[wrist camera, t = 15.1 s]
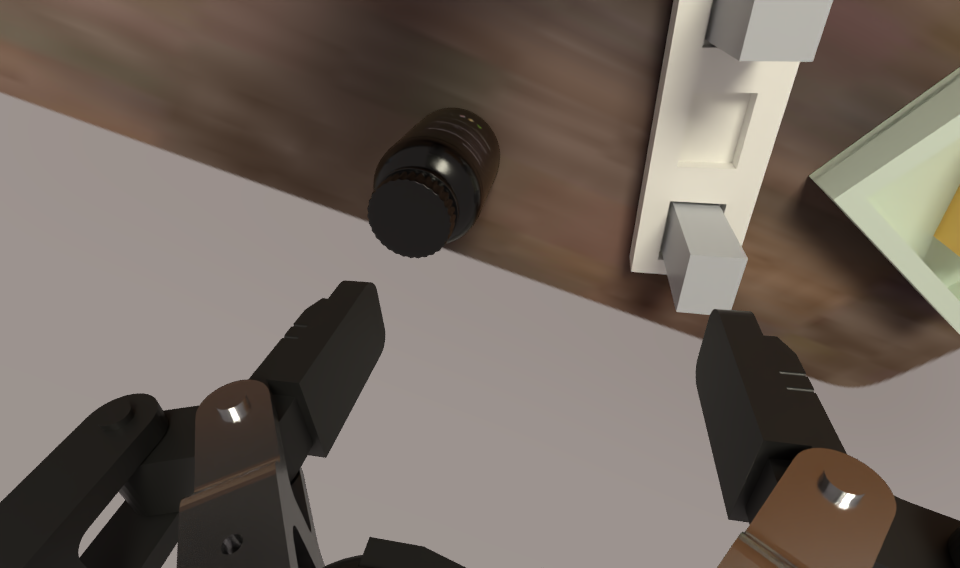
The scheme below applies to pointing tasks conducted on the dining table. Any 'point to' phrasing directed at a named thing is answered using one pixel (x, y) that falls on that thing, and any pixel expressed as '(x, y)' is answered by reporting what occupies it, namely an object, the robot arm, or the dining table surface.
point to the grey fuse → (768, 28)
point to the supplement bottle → (433, 182)
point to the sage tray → (907, 191)
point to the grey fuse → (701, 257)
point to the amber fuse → (951, 225)
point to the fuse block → (706, 132)
